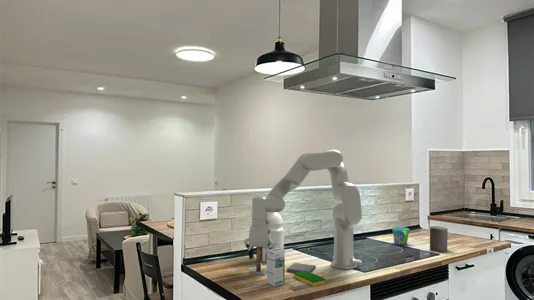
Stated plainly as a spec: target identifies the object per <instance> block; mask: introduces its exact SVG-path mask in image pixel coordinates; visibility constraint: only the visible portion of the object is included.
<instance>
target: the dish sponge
mask: <svg viewBox="0 0 534 300" xmlns="http://www.w3.org/2000/svg"><path fill="white" fill-rule="evenodd" d="M293 274H294V275H293V277H294V279H297V280H299V281H301V282H304V283H306V284H308V285H309V286H313V287H315V286H316V287H317V286H320V285H323V284H326V283H327V282H326V278H325V277H324V276H320V275H318V274H315V273H313V272H308V271H301V272H296V273H293Z"/></svg>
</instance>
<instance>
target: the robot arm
mask: <svg viewBox="0 0 534 300" xmlns="http://www.w3.org/2000/svg"><path fill="white" fill-rule="evenodd" d="M343 157H344V156H343V154H342V152H341V151H339V150H337V149H324V150H322V151H319V152H318V151H317V152H306V153H303V154H301V155H300V156H299V157H298V158H297V160H296V161H295V162H294V163H293V165H292V166H291V168H290V169H289V170H288V172H287V173H286V174H285V175H284V176H283V177H282V178H281V179H280V180H279V181H278V182H277V183H276V184H275V185H274V186H273V188H272V189H271V190H270V191H269V192H268V194H267V195H266V196H262V195H261V196H259V195H257V196H254V197H252V200H251V225H250V227H249V233H248V237H247V238H246V239H245V240H243V244H244V245H245V247H246V249H247V251H248V259H249V260H252V259H254V254H255V253H254V252H255V249H254V248H256V247H262V248H265V250H266V252H267V250H270V249H274V247H275V246H276V244H275V243H274V242H273V241H272V240H271V233H270V227H269V225H268V224H270V221H268V212H278V213H280V212H282V211H283V210H284V209H285V207H286V202H285V200H284V198H285V196H286V195H287V194H288V193H289V192H291V191H293V190H295V189H297V188H298V187H300V185H302V183H303V182H304V180H305V179H306V178H307V176H309V174H310V172H313V171H321V170H322V171H323V170H327V171H328V172H329V174H330V179H331V188H332V195H333V198H334V200H337V201H340V203H337V204H336V205H334V206H333V209H332V219H333V260H332V261H331V262H330V265H331V267H333V268H336V269H340V270H353V269H355V268H357V265H358V266H362V265H363V261H362V260H360V259H356V258H355V256H354V227H353V226H356V225H358V224H359V223H360V222H361V220H362V216H363V210H362V199H361V194H360V190H359V188H358V187H357V186H356V185H355V184H354V183H351V182H349V176H348V170H347V168H346V165H345V164H344V162H343V160H344V158H343ZM270 245H272V246H271V248H270V247H269V246H270ZM265 261H266V262H265V263H267V253H266V258H265Z"/></svg>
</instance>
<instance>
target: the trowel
mask: <svg viewBox="0 0 534 300" xmlns="http://www.w3.org/2000/svg"><path fill="white" fill-rule="evenodd" d="M255 248H256V250H255V251H256V252H255V253H256V255H255V257H256V259H255V260H256V261H255V263H256V264H255V266H254V267H253V268H251V269H249V270H248V274H251V275H253V274H254V275H259V276H267V268H264V267H263V266H264V265H263V248H262V247H255Z"/></svg>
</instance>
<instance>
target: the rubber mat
mask: <svg viewBox="0 0 534 300" xmlns="http://www.w3.org/2000/svg"><path fill="white" fill-rule="evenodd" d="M316 267H317V266H316V265H314V264H307V263H299V262H294V263H292V264H291V265H289V267H287V268H286V273H293V274H294V273H296V272H301V271H308V272H311V273H313V272H314V271H315V270H316V269H317V268H316Z"/></svg>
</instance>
